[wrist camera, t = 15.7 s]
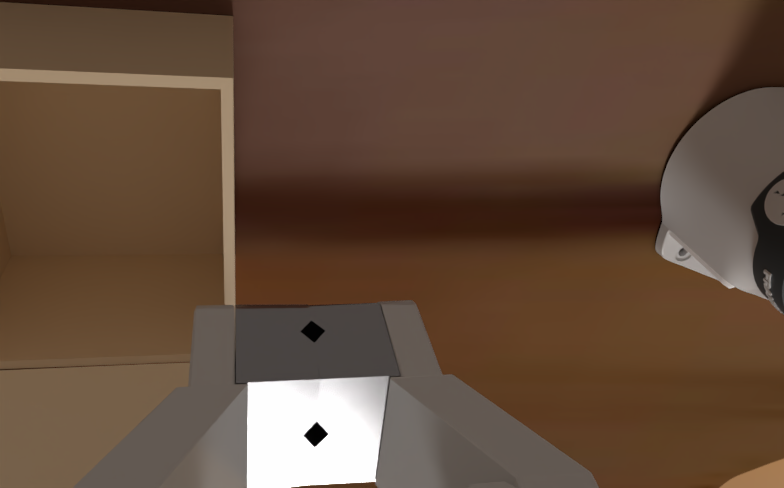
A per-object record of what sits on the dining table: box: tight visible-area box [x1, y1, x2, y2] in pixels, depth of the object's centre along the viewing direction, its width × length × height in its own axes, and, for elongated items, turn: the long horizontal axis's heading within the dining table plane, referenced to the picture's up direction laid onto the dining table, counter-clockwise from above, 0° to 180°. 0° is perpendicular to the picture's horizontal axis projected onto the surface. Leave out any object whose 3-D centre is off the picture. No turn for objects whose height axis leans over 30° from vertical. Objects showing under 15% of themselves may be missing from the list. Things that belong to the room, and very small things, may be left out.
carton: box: [0, 2, 235, 369], centre depth 43 cm, size 18×16×12 cm
